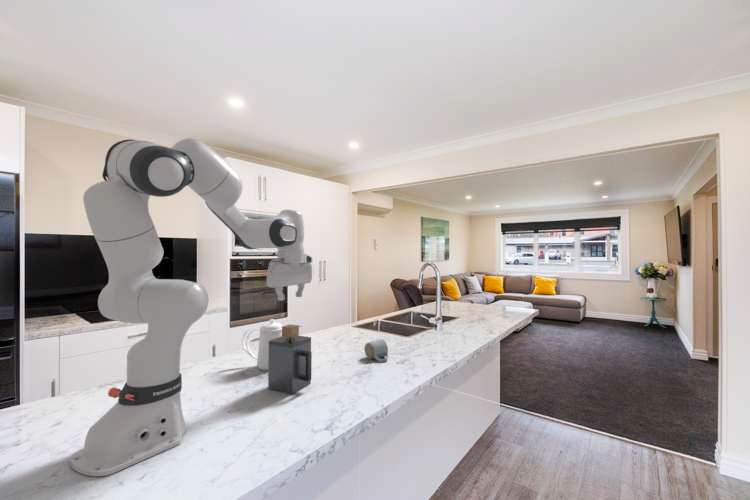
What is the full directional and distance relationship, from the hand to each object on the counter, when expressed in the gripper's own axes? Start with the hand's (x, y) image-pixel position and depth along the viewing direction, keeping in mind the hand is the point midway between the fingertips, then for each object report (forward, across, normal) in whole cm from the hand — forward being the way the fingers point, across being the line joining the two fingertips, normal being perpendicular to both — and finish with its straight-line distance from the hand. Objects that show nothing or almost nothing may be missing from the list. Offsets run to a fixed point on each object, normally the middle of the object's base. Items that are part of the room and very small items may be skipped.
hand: (290, 298), depth 114 cm
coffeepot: (+30, +13, +19) cm, 38 cm away
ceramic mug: (+30, +41, -15) cm, 53 cm away
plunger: (+29, 0, 0) cm, 29 cm away
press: (+30, 0, -2) cm, 30 cm away
